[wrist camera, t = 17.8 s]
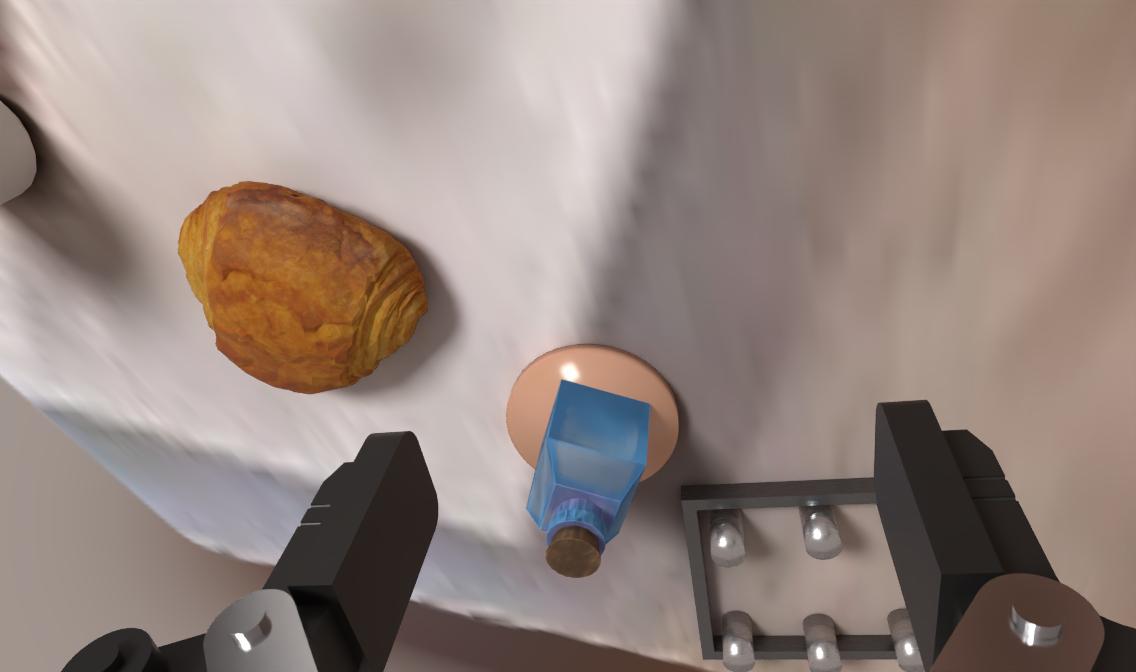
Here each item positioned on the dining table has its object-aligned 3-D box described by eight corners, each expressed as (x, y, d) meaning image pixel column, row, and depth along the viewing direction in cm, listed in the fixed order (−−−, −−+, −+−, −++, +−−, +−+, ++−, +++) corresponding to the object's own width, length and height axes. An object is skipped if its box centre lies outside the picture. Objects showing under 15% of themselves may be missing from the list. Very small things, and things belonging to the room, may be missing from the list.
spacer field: (958, 473, 54) (976, 515, 50) (941, 642, 63) (955, 687, 60) (681, 486, 58) (681, 525, 54) (702, 644, 67) (703, 686, 63)
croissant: (249, 123, 49) (162, 153, 42) (463, 247, 50) (411, 298, 43) (202, 299, 57) (121, 350, 50) (389, 406, 57) (335, 472, 50)
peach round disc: (668, 336, 51) (668, 346, 50) (686, 475, 57) (686, 487, 56) (492, 351, 53) (489, 361, 52) (527, 483, 59) (525, 494, 58)
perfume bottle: (624, 469, 56) (611, 606, 46) (541, 446, 56) (509, 579, 46) (650, 403, 52) (641, 536, 42) (561, 378, 52) (531, 505, 42)
